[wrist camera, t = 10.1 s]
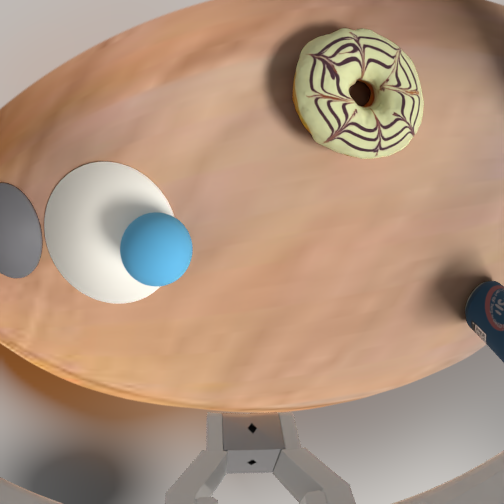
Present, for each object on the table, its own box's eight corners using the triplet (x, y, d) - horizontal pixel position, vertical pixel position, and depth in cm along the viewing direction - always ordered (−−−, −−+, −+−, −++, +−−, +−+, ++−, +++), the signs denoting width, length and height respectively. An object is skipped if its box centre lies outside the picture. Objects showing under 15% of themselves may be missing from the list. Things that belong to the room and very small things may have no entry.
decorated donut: (275, 41, 19) (284, 26, 16) (392, 38, 19) (415, 29, 16) (300, 163, 24) (314, 170, 20) (412, 148, 24) (436, 153, 20)
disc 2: (114, 128, 21) (113, 128, 21) (209, 252, 25) (209, 253, 25) (24, 224, 23) (23, 225, 22) (108, 323, 27) (108, 324, 27)
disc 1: (3, 161, 20) (2, 161, 20) (59, 241, 24) (58, 242, 24) (-35, 224, 22) (-35, 225, 21) (14, 293, 25) (13, 294, 25)
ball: (167, 201, 19) (146, 193, 23) (110, 266, 18) (101, 245, 22) (218, 253, 22) (189, 236, 26) (169, 312, 21) (148, 284, 25)
